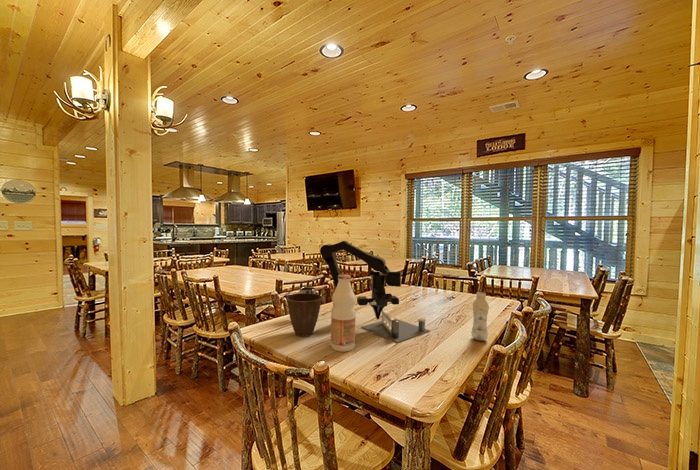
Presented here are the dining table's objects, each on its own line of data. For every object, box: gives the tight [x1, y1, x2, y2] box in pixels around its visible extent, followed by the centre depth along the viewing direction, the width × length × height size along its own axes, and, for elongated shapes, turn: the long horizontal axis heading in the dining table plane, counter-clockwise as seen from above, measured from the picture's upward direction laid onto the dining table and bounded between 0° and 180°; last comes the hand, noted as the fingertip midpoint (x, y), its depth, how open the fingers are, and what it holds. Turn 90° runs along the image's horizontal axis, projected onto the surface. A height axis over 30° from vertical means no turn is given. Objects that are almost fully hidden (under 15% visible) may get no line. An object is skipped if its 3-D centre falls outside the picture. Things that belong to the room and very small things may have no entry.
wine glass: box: [299, 286, 316, 294], centre depth 145 cm, size 8×8×15 cm
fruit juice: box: [330, 274, 357, 353], centre depth 111 cm, size 9×9×28 cm
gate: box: [381, 309, 395, 334], centre depth 131 cm, size 16×2×6 cm, turn 10°
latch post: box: [417, 317, 427, 332], centre depth 130 cm, size 2×2×6 cm
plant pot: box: [286, 292, 322, 338], centre depth 125 cm, size 15×15×16 cm
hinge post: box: [391, 319, 400, 339], centre depth 121 cm, size 3×3×8 cm
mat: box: [361, 317, 430, 344], centre depth 132 cm, size 22×22×1 cm
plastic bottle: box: [470, 291, 490, 342], centre depth 122 cm, size 6×7×20 cm
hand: (377, 318), depth 133 cm, fingers closed
